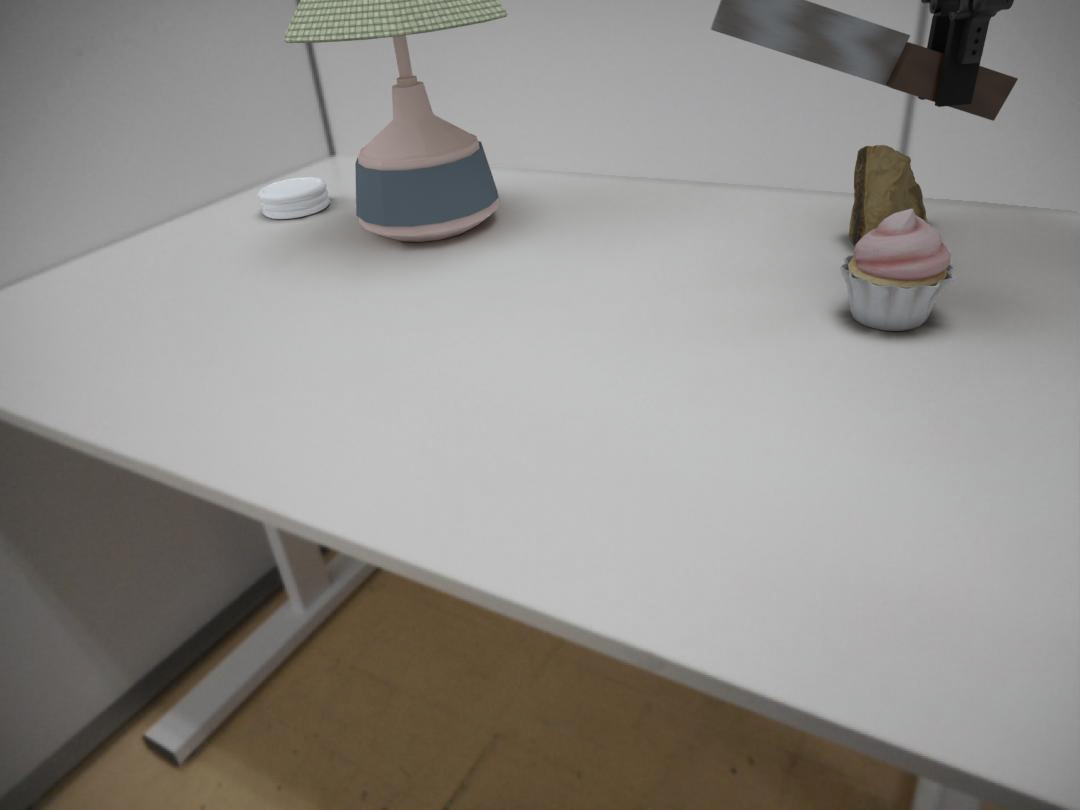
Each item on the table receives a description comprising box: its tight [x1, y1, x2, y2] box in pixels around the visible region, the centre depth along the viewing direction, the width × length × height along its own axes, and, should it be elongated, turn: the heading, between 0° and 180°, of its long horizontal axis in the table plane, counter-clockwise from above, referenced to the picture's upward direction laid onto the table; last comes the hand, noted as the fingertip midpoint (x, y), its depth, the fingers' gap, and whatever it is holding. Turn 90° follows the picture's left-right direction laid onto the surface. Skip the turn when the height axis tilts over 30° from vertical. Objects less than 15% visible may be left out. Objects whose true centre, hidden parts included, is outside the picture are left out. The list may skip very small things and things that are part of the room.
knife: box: [710, 0, 1019, 122], centre depth 62 cm, size 26×2×4 cm, turn 91°
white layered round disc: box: [257, 176, 331, 220], centre depth 111 cm, size 10×10×4 cm
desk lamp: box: [282, 0, 509, 243], centre depth 89 cm, size 26×28×42 cm
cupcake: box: [839, 209, 957, 332], centre depth 65 cm, size 9×9×10 cm
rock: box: [848, 144, 928, 246], centre depth 81 cm, size 11×9×10 cm
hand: (943, 100), depth 64 cm, fingers closed on knife, 2 cm apart
